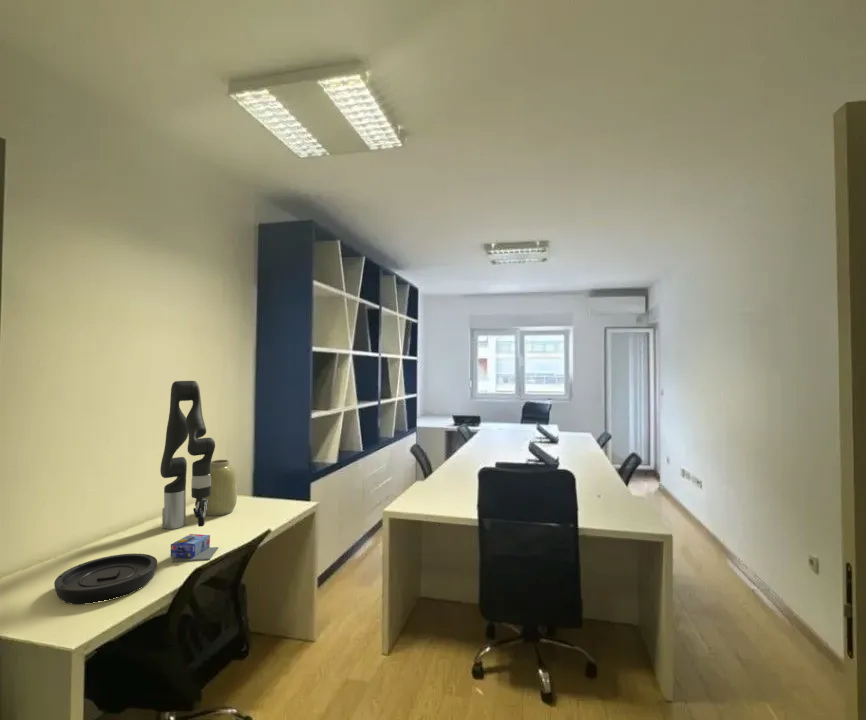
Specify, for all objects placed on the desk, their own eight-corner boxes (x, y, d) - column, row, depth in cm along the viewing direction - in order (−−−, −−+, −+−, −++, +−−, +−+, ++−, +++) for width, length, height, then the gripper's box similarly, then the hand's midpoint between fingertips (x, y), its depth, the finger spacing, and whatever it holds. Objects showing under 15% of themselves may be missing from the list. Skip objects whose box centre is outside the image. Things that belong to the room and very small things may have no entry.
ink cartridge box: (210, 534, 200) (188, 548, 186) (210, 546, 200) (188, 561, 186) (189, 532, 202) (165, 546, 187) (189, 545, 202) (165, 560, 187)
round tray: (162, 562, 187) (70, 576, 175) (162, 547, 187) (70, 560, 175) (150, 596, 159) (39, 615, 147) (150, 578, 159) (40, 596, 147)
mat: (172, 562, 186) (172, 560, 186) (183, 550, 198) (183, 549, 198) (209, 559, 188) (209, 558, 188) (218, 548, 200) (218, 546, 200)
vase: (219, 505, 261) (219, 457, 262) (243, 508, 255) (243, 459, 256) (193, 515, 245) (194, 463, 245) (219, 518, 239) (219, 465, 240)
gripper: (197, 481, 206) (197, 521, 205) (186, 489, 193) (186, 531, 192) (215, 481, 207) (215, 520, 207) (205, 488, 194) (205, 530, 194)
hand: (201, 525), depth 199 cm, fingers closed
